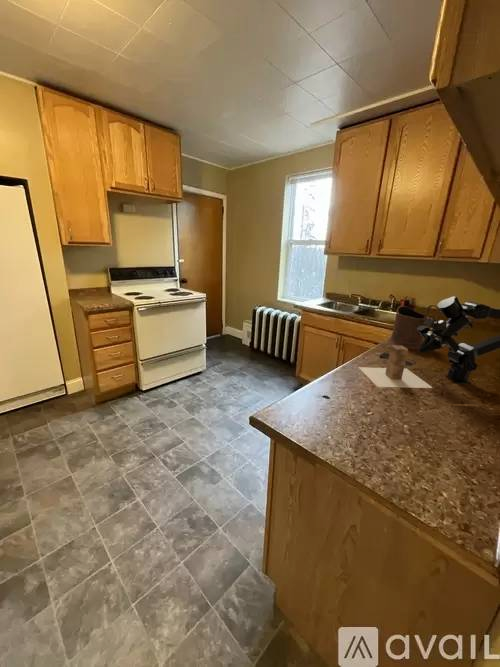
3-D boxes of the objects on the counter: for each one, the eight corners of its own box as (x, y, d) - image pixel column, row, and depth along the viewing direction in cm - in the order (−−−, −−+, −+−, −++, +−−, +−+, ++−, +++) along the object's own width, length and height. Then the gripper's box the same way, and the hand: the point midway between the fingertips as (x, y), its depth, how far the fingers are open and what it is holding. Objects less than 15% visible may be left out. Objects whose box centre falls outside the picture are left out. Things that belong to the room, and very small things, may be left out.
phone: (385, 352, 144) (416, 361, 133) (384, 354, 144) (416, 364, 134) (378, 355, 138) (411, 365, 128) (378, 358, 139) (410, 368, 128)
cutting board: (406, 369, 125) (406, 368, 125) (432, 389, 108) (433, 387, 108) (358, 368, 124) (358, 367, 124) (377, 388, 107) (377, 386, 107)
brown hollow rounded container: (405, 337, 174) (413, 297, 166) (441, 351, 152) (453, 305, 145) (381, 339, 168) (389, 297, 160) (415, 353, 146) (426, 306, 139)
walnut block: (395, 374, 118) (401, 345, 115) (401, 379, 114) (408, 349, 110) (385, 374, 118) (391, 345, 114) (390, 379, 114) (397, 349, 110)
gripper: (426, 306, 117) (395, 331, 120) (460, 317, 100) (423, 345, 102) (439, 325, 120) (409, 348, 123) (475, 339, 102) (438, 366, 105)
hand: (418, 351), depth 113 cm, fingers closed
